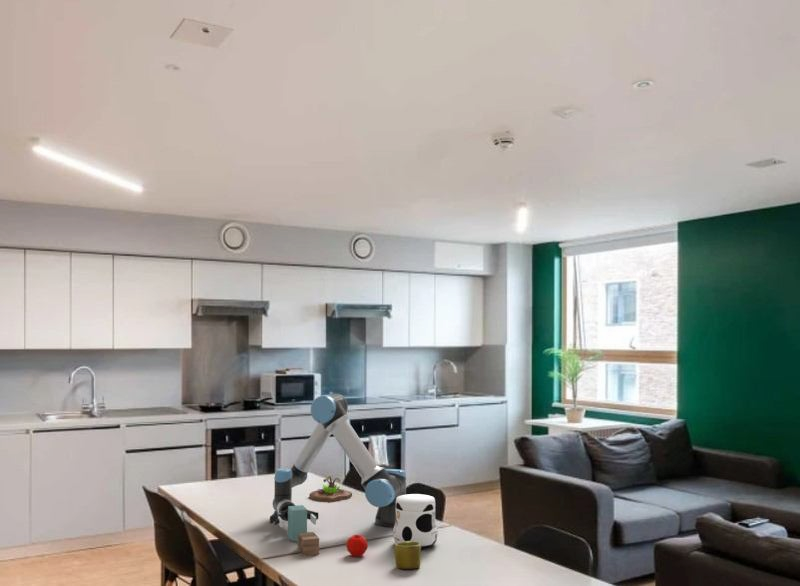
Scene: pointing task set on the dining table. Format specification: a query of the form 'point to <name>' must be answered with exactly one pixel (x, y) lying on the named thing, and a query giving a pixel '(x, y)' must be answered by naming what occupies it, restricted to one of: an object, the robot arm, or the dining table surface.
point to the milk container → (415, 519)
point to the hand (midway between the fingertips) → (298, 522)
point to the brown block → (308, 543)
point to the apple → (356, 545)
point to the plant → (330, 492)
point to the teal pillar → (296, 521)
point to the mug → (407, 555)
